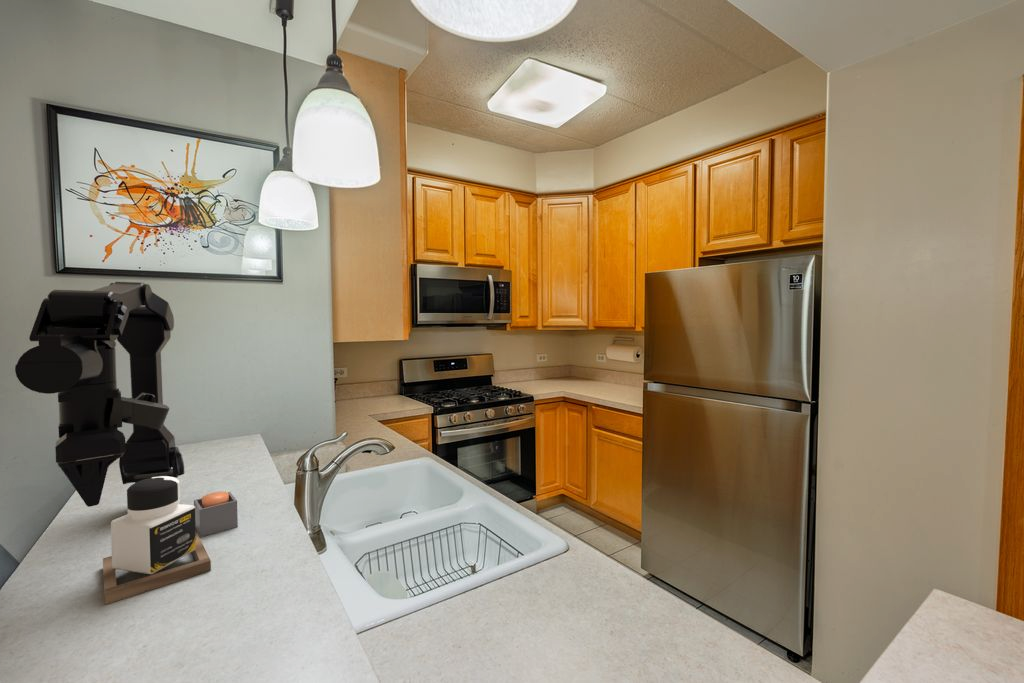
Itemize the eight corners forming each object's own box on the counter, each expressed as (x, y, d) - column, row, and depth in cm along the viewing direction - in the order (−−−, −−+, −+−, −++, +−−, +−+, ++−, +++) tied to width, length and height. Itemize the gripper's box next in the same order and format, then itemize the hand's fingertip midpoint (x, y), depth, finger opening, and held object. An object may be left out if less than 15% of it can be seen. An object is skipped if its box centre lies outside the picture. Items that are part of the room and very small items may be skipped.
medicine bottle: (151, 575, 61) (148, 491, 61) (110, 569, 63) (108, 487, 62) (197, 549, 68) (195, 474, 68) (160, 544, 70) (157, 470, 69)
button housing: (194, 526, 79) (193, 500, 79) (230, 516, 83) (230, 491, 83) (200, 537, 75) (199, 509, 75) (237, 526, 79) (237, 500, 79)
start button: (200, 506, 79) (199, 495, 79) (226, 500, 82) (225, 489, 82) (204, 513, 76) (204, 502, 76) (231, 507, 79) (230, 496, 79)
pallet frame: (103, 568, 66) (102, 558, 66) (197, 541, 74) (197, 532, 74) (105, 604, 57) (104, 593, 57) (210, 570, 65) (210, 560, 65)
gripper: (173, 384, 59) (176, 498, 59) (155, 372, 72) (157, 466, 72) (53, 393, 51) (58, 525, 51) (57, 378, 64) (61, 483, 64)
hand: (92, 495), depth 60 cm, fingers open, 9 cm apart
